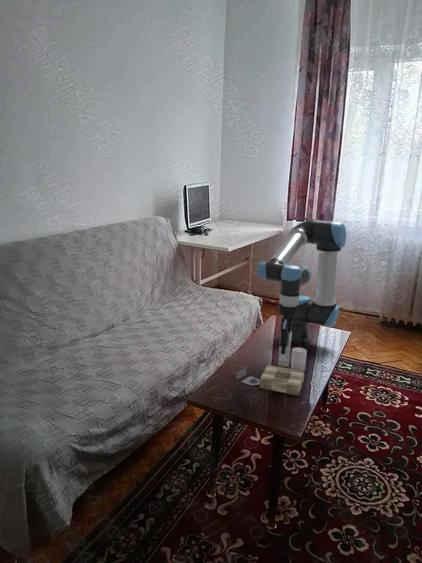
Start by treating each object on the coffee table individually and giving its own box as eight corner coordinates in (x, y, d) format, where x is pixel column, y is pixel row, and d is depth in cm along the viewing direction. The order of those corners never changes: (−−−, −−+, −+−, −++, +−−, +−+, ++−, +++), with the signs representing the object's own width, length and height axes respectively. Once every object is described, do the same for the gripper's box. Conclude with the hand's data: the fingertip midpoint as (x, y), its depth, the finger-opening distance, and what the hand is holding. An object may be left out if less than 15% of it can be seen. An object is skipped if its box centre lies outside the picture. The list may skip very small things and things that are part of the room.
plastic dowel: (291, 364, 193) (293, 346, 191) (305, 366, 191) (307, 348, 189) (289, 370, 187) (291, 352, 185) (304, 372, 185) (305, 354, 183)
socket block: (267, 373, 184) (267, 364, 183) (303, 380, 179) (304, 371, 178) (259, 387, 171) (260, 378, 170) (298, 395, 166) (299, 386, 165)
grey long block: (279, 361, 175) (282, 330, 171) (288, 363, 174) (291, 331, 170) (277, 365, 171) (280, 333, 168) (287, 366, 170) (290, 334, 166)
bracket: (255, 388, 171) (255, 380, 170) (236, 380, 178) (236, 372, 177) (264, 383, 176) (264, 375, 175) (245, 375, 182) (245, 367, 181)
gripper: (283, 297, 175) (279, 349, 181) (275, 309, 159) (270, 364, 165) (301, 300, 172) (296, 352, 178) (294, 311, 157) (289, 368, 163)
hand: (283, 358), depth 172 cm, fingers closed on grey long block, 4 cm apart
